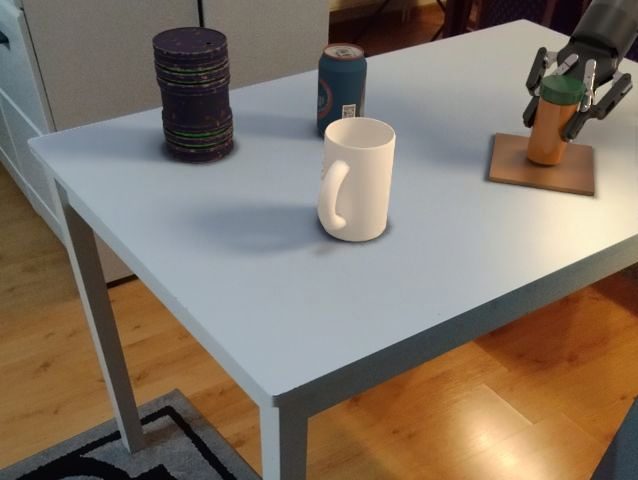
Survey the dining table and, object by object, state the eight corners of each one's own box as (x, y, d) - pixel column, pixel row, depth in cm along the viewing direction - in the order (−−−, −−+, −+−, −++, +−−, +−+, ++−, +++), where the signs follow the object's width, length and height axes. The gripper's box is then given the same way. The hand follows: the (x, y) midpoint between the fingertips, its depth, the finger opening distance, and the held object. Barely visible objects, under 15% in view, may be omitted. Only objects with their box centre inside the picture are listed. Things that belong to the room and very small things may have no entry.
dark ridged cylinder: (151, 153, 96) (135, 44, 86) (190, 126, 103) (179, 21, 93) (211, 169, 94) (201, 58, 83) (247, 140, 100) (242, 34, 90)
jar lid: (582, 90, 92) (586, 77, 91) (583, 107, 88) (587, 94, 87) (539, 84, 93) (542, 72, 92) (537, 101, 89) (541, 88, 88)
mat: (590, 149, 101) (592, 145, 101) (593, 196, 91) (595, 192, 91) (495, 136, 103) (496, 132, 103) (488, 180, 94) (489, 176, 93)
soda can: (310, 124, 105) (312, 43, 96) (353, 119, 106) (358, 39, 98) (324, 144, 100) (327, 61, 92) (369, 139, 102) (375, 56, 93)
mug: (290, 243, 81) (289, 149, 73) (340, 199, 89) (345, 110, 80) (350, 266, 78) (356, 171, 70) (397, 218, 86) (407, 128, 77)
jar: (563, 150, 98) (583, 81, 91) (563, 167, 94) (583, 97, 88) (526, 144, 99) (543, 76, 92) (524, 161, 95) (542, 92, 88)
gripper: (561, -11, 91) (493, 103, 93) (664, 16, 84) (589, 138, 86) (569, 22, 98) (506, 127, 100) (666, 49, 91) (596, 162, 93)
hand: (545, 132), depth 93 cm, fingers closed on jar, 5 cm apart
